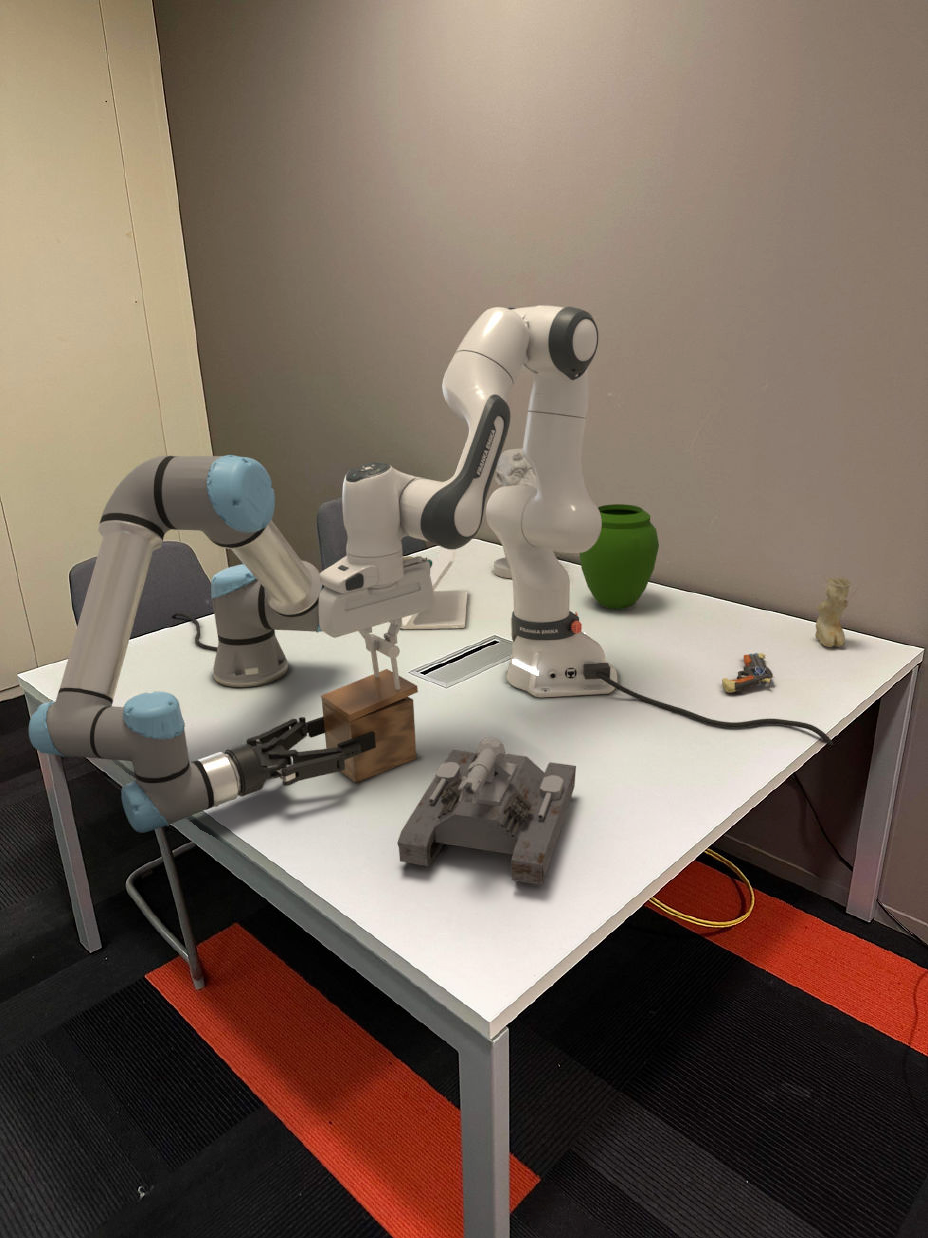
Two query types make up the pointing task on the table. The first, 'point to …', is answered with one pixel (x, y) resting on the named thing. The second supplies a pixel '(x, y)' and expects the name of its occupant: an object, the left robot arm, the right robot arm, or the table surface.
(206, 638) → the table surface
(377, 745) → the chest
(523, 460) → the bust sculpture
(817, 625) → the sculpture
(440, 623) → the tablet stand
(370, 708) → the lid
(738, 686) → the toy gun
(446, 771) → the toy
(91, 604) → the left robot arm
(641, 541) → the vase
